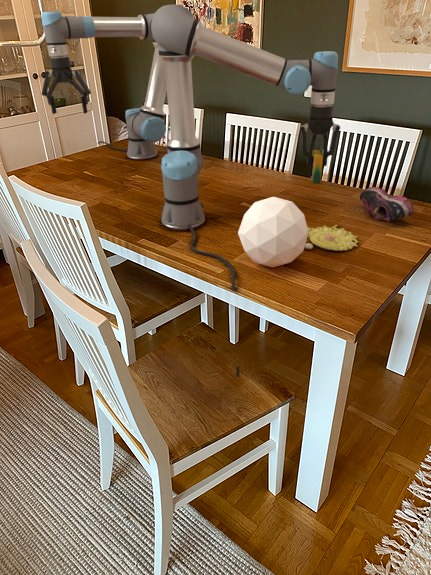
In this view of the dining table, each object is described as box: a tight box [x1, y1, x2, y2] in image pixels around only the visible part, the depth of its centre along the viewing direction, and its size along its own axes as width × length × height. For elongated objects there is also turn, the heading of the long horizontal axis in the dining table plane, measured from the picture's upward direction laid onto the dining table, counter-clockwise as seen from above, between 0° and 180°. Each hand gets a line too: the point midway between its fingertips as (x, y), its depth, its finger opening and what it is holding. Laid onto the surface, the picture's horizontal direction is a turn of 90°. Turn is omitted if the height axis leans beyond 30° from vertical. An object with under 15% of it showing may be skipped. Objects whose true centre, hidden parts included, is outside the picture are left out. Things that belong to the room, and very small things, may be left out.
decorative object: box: [304, 224, 359, 252], centre depth 141 cm, size 21×2×20 cm
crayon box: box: [310, 145, 324, 185], centre depth 155 cm, size 7×3×12 cm, turn 176°
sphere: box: [237, 196, 309, 268], centre depth 125 cm, size 19×20×20 cm
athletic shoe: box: [359, 186, 414, 223], centre depth 153 cm, size 11×22×12 cm
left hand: (70, 113), depth 188 cm, fingers open, 13 cm apart
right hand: (315, 174), depth 158 cm, fingers closed on crayon box, 3 cm apart
